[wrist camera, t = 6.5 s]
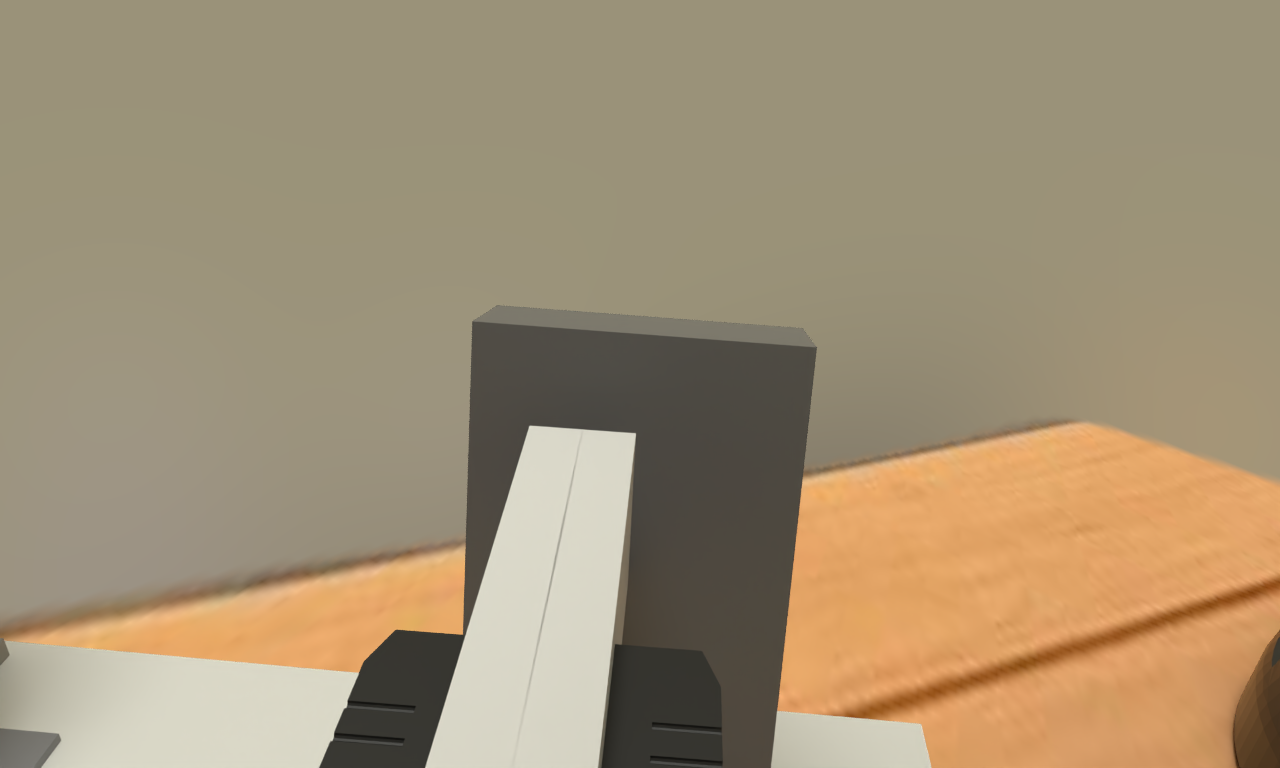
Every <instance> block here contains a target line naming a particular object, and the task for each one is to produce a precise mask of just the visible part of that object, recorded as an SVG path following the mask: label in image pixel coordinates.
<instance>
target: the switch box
mask: <svg viewBox="0 0 1280 768" xmlns="http://www.w3.org/2000/svg"><path fill="white" fill-rule="evenodd" d="M358 674H359V673H354V672H343V671H332V670H321V669H310V668H299V667H288V666H277V665H266V664H255V663H244V662H233V661H221V660H210V659H199V658H188V657H177V656H166V655H155V654H144V653H133V652H122V651H111V650H100V649H89V648H78V647H67V646H56V645H45V644H34V643H23V642H12V641H4V639H3V638H0V768H319V767H320V764H321V762H322V760H323V757H324V755H325V752H326V750H327V748H328V745H329V743H330V741H333V738H334V731H335V729H336V726H337V724H338V722H339V719H340V717H341V715H342V712H343V710H344V708H346V707H347V700H348V698H349V696H350V693H351V691H352V688H353V686H354V684H355V681H356V679H357V677H358ZM771 768H931V764H930V759H929V755H928V751H927V747H926V742H925V738H924V734H923V730H922V725H921V724H916V723H905V722H894V721H883V720H872V719H861V718H850V717H838V716H827V715H816V714H805V713H794V712H783V711H777V716H776V726H775V735H774V744H773V753H772V762H771Z"/></svg>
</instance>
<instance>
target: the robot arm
mask: <svg viewBox="0 0 1280 768" xmlns="http://www.w3.org/2000/svg"><path fill="white" fill-rule="evenodd" d="M635 443H636V433H624V432H610V431H596V430H584V429H570V428H556V427H542V426H529V429H528V432H527V436H526V439H525V442H524V445H523V449H522V452H521V455H520V459H519V462H518V465H517V468H516V472H515V475H514V478H513V481H512V485H511V488H510V491H509V495H508V498H507V501H506V504H505V508H504V511H503V514H502V518H501V521H500V524H499V527H498V531H497V534H496V537H495V541H494V544H493V547H492V550H491V554H490V557H489V560H488V563H487V567H486V570H485V573H484V577H483V580H482V583H481V586H480V590H479V593H478V596H477V600H476V603H475V606H474V609H473V613H472V616H471V619H470V622H469V626H468V629H467V632H466V635H457V634H444V633H431V632H418V631H405V630H395V631H394V632H393V633H392V634H391V635H390V636H389V637H388V638H387V639H386V640H385V641H384V642H383V643H382V644H381V645H380V646H379V647H378V648H377V649H376V650H375V651H374V652H373V653H372V654H371V655H370V656H369V657H368V658H367V659H366V660H365V661H364V662H363V665H362V667H361V670H360V672H359V674H358V677H357V679H356V681H355V684H354V686H353V688H352V691H351V693H350V696H349V698H348V700H347V707H346V708H344V710H343V712H342V715H341V717H340V719H339V722H338V724H337V726H336V729H335V731H334V738H333V741H330V743H329V745H328V748H327V750H326V752H325V755H324V757H323V760H322V762H321V764H320V767H319V768H723V746H722V704H721V686H720V684H719V682H718V680H717V678H716V676H715V675H714V673H713V671H712V669H711V667H710V665H709V663H708V661H707V659H706V657H705V656H704V654H703V652H702V651H698V650H685V649H671V648H658V647H645V646H632V645H622V637H623V627H624V617H625V607H626V598H627V588H628V572H629V553H630V535H631V516H632V498H633V479H634V461H635ZM1234 739H1235V748H1236V755H1237V759H1238V763H1239V767H1240V768H1280V630H1279V632H1278V633H1277V634H1276V635H1275V636H1274V638H1273V639H1272V640H1271V641H1270V643H1269V644H1268V645H1267V647H1266V649H1265V650H1264V652H1263V654H1262V656H1261V658H1260V660H1259V662H1258V664H1257V666H1256V668H1255V670H1254V672H1253V674H1252V676H1251V678H1250V680H1249V682H1248V684H1247V686H1246V688H1245V690H1244V692H1243V694H1242V696H1241V698H1240V701H1239V703H1238V706H1237V711H1236V715H1235V724H1234Z"/></svg>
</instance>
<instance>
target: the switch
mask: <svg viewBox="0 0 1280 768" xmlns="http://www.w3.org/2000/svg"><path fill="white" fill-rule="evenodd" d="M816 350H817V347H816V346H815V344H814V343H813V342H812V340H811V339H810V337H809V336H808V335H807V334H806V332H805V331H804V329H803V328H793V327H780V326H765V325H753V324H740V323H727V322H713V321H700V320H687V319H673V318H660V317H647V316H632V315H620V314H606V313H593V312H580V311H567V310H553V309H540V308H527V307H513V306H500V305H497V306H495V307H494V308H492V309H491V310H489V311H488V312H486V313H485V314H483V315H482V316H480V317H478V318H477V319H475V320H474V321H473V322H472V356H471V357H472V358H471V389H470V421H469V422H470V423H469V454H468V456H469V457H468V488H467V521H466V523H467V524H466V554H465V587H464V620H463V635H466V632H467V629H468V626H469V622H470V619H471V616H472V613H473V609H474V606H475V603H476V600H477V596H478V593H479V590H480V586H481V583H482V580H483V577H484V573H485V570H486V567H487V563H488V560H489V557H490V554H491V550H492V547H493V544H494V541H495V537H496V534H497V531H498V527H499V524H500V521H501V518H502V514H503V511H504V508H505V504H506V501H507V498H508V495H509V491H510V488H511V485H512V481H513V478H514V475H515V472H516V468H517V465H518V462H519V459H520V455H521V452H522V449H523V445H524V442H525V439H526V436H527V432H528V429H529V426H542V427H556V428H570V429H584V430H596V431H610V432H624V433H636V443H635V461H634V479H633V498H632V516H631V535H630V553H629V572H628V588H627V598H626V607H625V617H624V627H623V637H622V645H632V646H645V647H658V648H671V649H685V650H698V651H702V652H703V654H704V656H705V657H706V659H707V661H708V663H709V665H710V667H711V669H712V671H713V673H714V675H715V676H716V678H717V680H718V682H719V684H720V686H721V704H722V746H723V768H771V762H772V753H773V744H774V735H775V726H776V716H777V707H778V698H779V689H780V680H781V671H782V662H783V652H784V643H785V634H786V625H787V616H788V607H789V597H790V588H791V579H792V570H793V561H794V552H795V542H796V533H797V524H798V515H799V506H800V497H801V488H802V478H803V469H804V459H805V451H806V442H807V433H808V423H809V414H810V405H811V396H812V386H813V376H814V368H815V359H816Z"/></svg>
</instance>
